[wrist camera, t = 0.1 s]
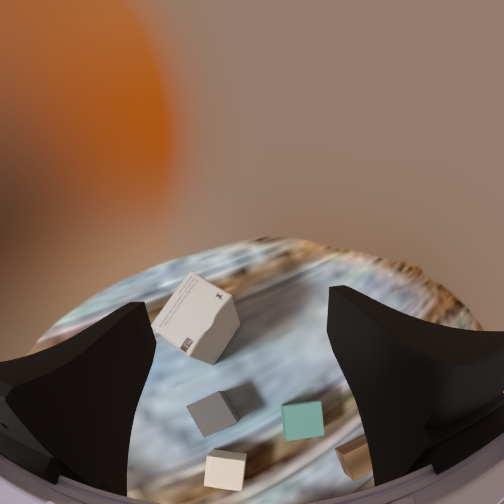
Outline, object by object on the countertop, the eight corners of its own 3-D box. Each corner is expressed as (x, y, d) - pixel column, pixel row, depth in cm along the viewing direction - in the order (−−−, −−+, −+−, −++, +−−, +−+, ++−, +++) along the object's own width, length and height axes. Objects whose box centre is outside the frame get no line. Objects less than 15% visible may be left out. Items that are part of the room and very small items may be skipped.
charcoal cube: (239, 418, 35) (237, 422, 30) (210, 432, 33) (204, 437, 29) (223, 391, 37) (218, 391, 32) (194, 404, 36) (186, 406, 31)
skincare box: (212, 306, 43) (190, 265, 31) (243, 325, 42) (234, 291, 29) (182, 347, 40) (146, 324, 27) (213, 369, 38) (189, 356, 25)
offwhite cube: (243, 480, 29) (241, 491, 25) (210, 476, 30) (204, 485, 25) (246, 453, 32) (244, 460, 27) (213, 448, 32) (207, 455, 28)
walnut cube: (372, 458, 30) (385, 463, 25) (344, 472, 29) (354, 480, 25) (363, 434, 32) (375, 438, 28) (334, 448, 31) (343, 455, 27)
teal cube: (317, 430, 33) (324, 434, 29) (283, 435, 33) (286, 440, 29) (314, 400, 36) (320, 401, 31) (280, 404, 35) (283, 406, 31)
